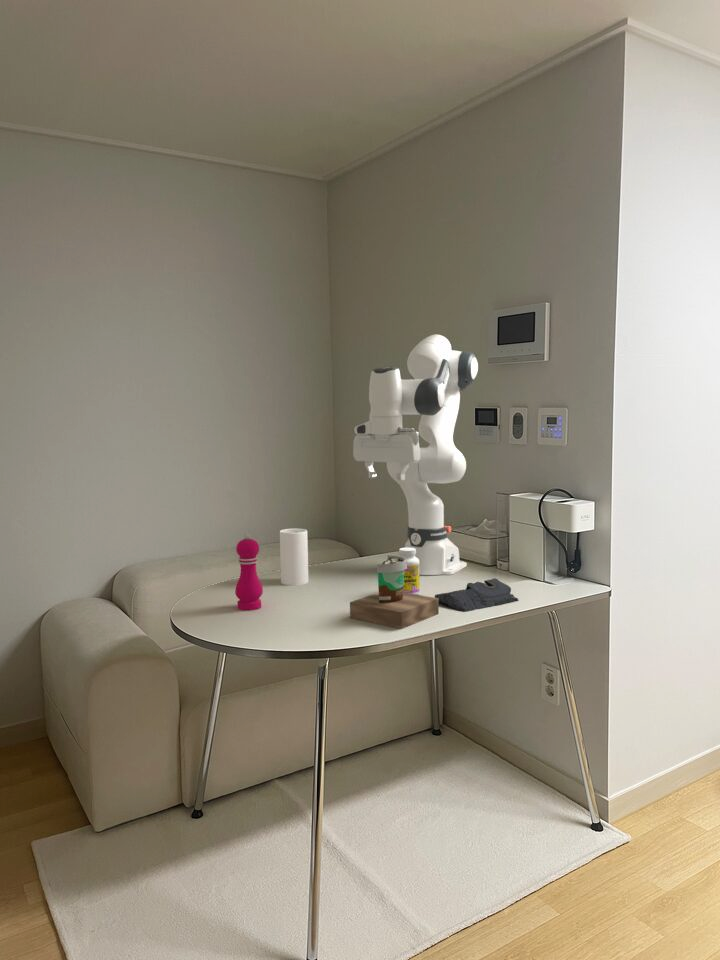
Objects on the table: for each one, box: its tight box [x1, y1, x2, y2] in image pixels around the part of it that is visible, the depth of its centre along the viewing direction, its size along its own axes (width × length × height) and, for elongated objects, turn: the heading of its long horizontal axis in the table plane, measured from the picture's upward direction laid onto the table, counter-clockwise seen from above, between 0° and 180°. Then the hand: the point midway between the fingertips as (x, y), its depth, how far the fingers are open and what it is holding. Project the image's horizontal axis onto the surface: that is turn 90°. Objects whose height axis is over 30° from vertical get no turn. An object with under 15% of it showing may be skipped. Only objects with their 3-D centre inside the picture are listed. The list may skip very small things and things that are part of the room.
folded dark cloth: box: [434, 578, 519, 613], centre depth 209 cm, size 15×22×5 cm
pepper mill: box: [234, 532, 264, 611], centre depth 204 cm, size 7×7×20 cm
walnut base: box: [349, 592, 440, 630], centre depth 195 cm, size 16×16×4 cm
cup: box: [279, 527, 309, 586], centre depth 231 cm, size 8×8×16 cm
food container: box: [376, 554, 407, 603], centre depth 196 cm, size 12×6×10 cm, turn 165°
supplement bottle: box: [398, 547, 420, 595], centre depth 216 cm, size 7×7×13 cm
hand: (386, 479), depth 208 cm, fingers open, 8 cm apart
